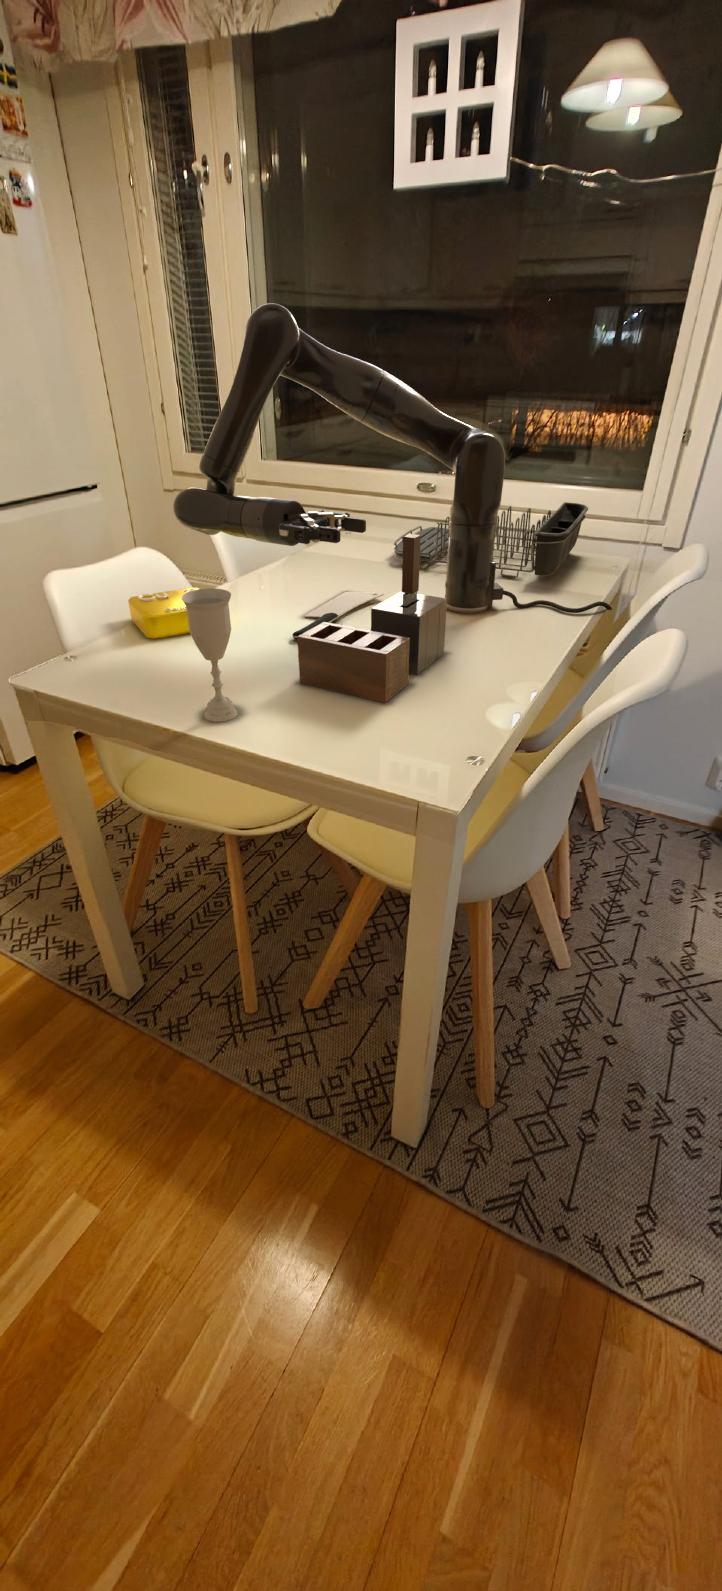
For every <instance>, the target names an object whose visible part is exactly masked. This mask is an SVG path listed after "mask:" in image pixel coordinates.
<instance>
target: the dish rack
mask: <svg viewBox="0 0 722 1591" xmlns="http://www.w3.org/2000/svg"><path fill="white" fill-rule="evenodd" d="M531 510H532V508H531V507H528V508H527V511H526V512H522V514H521V519H520V517H519V516H518V517H517V518H516V519H515V525H514V522H512V511H513V510H512V506H511V505H508V507H507V512H506V510H504V509H503V510H502V512H501V517H500V516H499V513H497V521H496V532H495V538H496V541H495V543H494V545H496V548H494V551H497V552H500V553H499V554H500V555H493V558H498V559H499V561H498V562H495V563H496V565H498V566H496V570H500V575H501V577H502V578H507V579H517V578H518V577H519V572H521V573H534V575H535V576H540V577H541V576H544V577H547V576H551V575H553V574H555V573H556V571H558V569H559V567H560V566H561V565H562V563H564V561H565V559H566V558H567V557H568V555H569V554H570V553H571V551H573V548H574V547H575V545H576V544H577V541H578V538H579V535H580V530H581V526H582V523H583V521H584V520H585V519H586V513H587V511H589V507H588V506H587V505H586V504H582V503H578V502H568V501H565V502H562V504H560V506H559V507H558V508H557V509H556V510H555V511H554V512H553V513H552V510H550V509H548V510H547V514H543V516H542V519H538V520H537V522H536V525H535V524H534V523H533V524H532V525H531V515H532V514H531ZM447 521H448V522H447ZM449 521H450V515H449V516H447V517H446V518H445V520H444V522H441V521H438V522H436V524H437V526H429V527H426V528H424V529H423V528H422V527H423V526H422V525H418V526H416V527H414V528H412V529H409V530H408V531H406V532H405V533H404V534H402V535H400V537H398V538H397V539H396V540H395V541H394V543H393V545H394V546H395V547H393V548H394V549H393V550H394V553H395V556H396V558H401V559H403V537H404V536H406V535H408V534H413V532H414V531H416V530H418V529H420V530H419V531H416V532H415V533H414V534H416V535H421V538H420V565H419V567H421V563H422V561H424V562H428V563H430V562H432V563H439V564H440V563H441V564H447V560H438V559H437V558H441V559H447V556H445V552H448V539H449ZM447 526H448V528H447ZM400 540H401V541H400ZM503 548H504V549H503ZM509 548H510V549H509ZM520 548H522V551H520ZM514 554H519V555H520V554H521V558H518V557H517V558H516V557H514ZM508 555H509V556H508ZM529 557H530V559H529ZM502 559H503V563H502ZM508 560H517V561H520V564H511V563H507V561H508ZM523 562H524V563H523ZM529 562H531V570H530V569H523V568H527V566H528V563H529ZM523 564H524V565H523ZM503 566H510V567H503ZM511 566H512V567H519V568H512V567H511ZM504 571H511V572H512V571H513V572H516V575H514V574H513V575H512V574H505V573H504Z"/></svg>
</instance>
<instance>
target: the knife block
mask: <svg viewBox="0 0 722 1591" xmlns="http://www.w3.org/2000/svg"><path fill="white" fill-rule="evenodd" d="M403 594H404V593H402V590H401V591H399V592H397V593H395V594H394V595H392V596H390V597H388V598H387V599H385V600H383V601H381V602H380V603H377V605H374V606H373V607H371V608H370V631H375V632H381V633H386V634H392V635H397V636H402V637H408V638H410V645H409V674H414V675H419V674H420V673H422V672H423V671H424V670H425V669H427V668H428V667H429V666H430V665H431V664H433V663H434V662H435V661H436V660H438V659H439V658H440V657H442V655H444V654H445V643H446V642H445V641H446V628H447V625H446V623H447V610H448V609H447V598H445V597H442V596H441V597H440V596H433V595H427V594H422V593H421V594H420V593H417V602H416V603H415V604H413V605H411V606H410V607H408V608H403Z"/></svg>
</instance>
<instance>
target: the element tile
mask: <svg viewBox="0 0 722 1591" xmlns="http://www.w3.org/2000/svg"><path fill="white" fill-rule="evenodd" d="M198 589H199V588H198V587H188V588H182V589H175V590H169V591H167V590H166V591H162V592H161V591H160V592H154V593H143V594H139V595H134V596H131V597H130V598H129V599H128V600H127V601H128V608H129V613H130V619H131V621H132V622H133V623H134V625H135V626H137V628H138V629H139V630H140V631H141V632H142V634H143V635H144V636H145V637H146V638H147V639H154V640H155V639H156V640H157V639H162V638H169V637H175V636H180V635H186V634H190V629H189V622H188V615H187V608H186V605H185V604H184V602H183V601H182V598H181V597H182V596H183V595H184V594H185V593H187V592H190V591H193V590H198Z"/></svg>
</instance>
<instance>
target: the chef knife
mask: <svg viewBox="0 0 722 1591" xmlns="http://www.w3.org/2000/svg"><path fill="white" fill-rule="evenodd" d="M420 538H421V535H416V534H415V533H412V534H411V533H409V534H407V535H405V536H404V537H403V558H402V568H401V570H402V571H401V576H402V577H401V591H402V593H404V594H403V608H408V607H410V606H411V605H413V604H415V603H416V602H417V594H418V592H419V590H420V588H419V587H420V566H421V563H420ZM419 565H420V566H419Z"/></svg>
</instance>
